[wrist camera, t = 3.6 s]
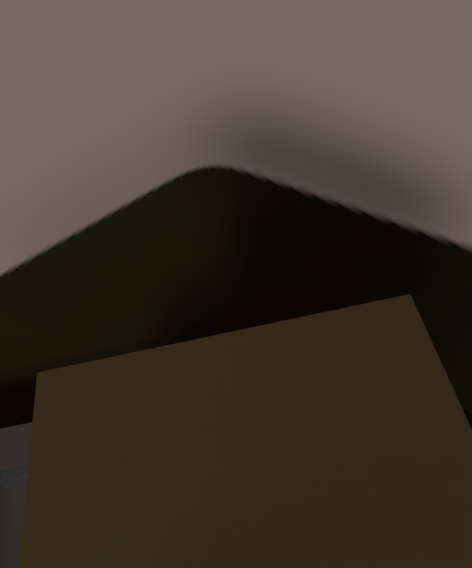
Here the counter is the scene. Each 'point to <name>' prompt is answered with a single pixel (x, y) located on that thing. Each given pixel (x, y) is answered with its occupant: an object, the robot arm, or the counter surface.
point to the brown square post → (256, 451)
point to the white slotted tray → (13, 490)
